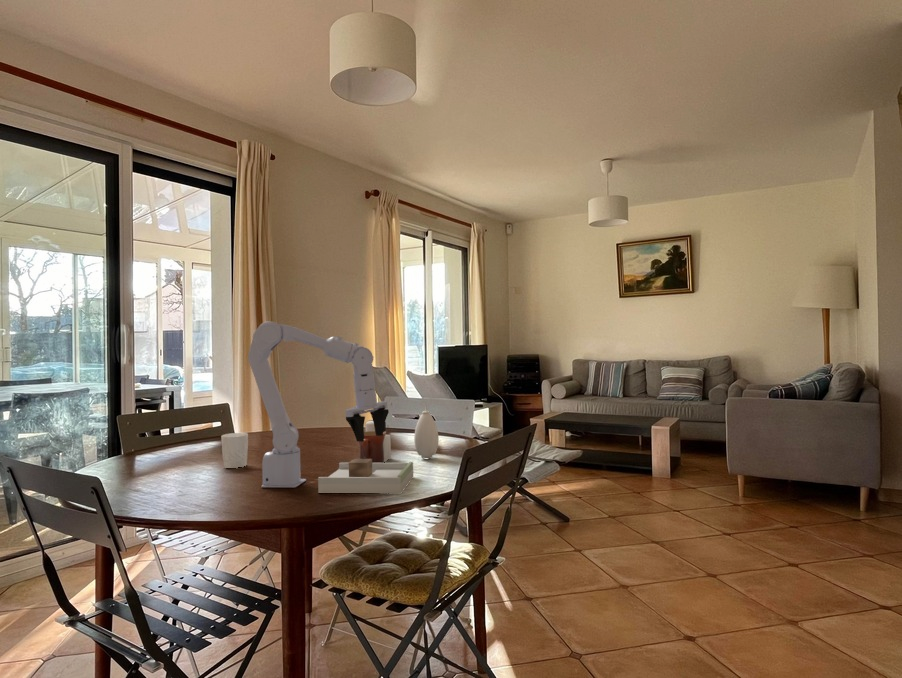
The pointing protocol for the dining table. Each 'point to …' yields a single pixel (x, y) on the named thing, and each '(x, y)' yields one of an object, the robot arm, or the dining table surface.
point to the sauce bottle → (426, 435)
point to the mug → (372, 447)
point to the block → (360, 468)
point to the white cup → (234, 449)
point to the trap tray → (368, 479)
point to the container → (387, 444)
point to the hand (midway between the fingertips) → (370, 438)
